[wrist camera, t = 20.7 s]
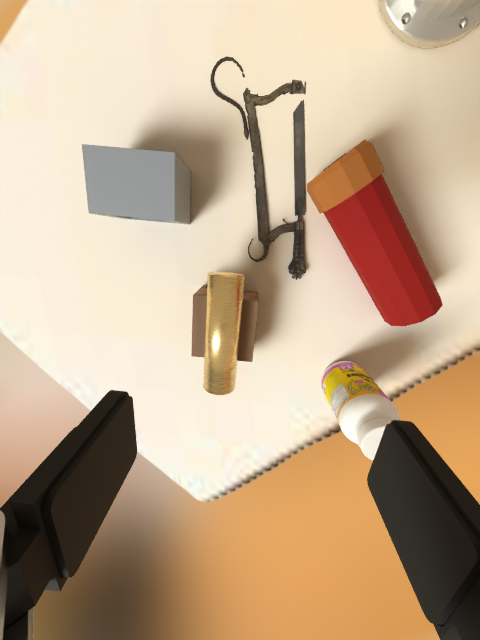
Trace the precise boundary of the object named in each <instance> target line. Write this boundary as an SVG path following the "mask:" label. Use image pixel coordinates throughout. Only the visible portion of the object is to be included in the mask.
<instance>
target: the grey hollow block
mask: <svg viewBox="0 0 480 640" xmlns="http://www.w3.org/2000/svg"><path fill="white" fill-rule="evenodd" d="M82 150H83V160H84V170H85V180H86V190H87V200H88V210H89V213H91V214H97V215H104V216H110V217H116V218H123V219H135V220H146V221H158V222H169V223H180V224H190V199H191V170H190V169H189V168H188V167H187V166H186V165H185V164H184V162H183V161H182V160H181V159H180V158H179V157H178V156H177V154H176V153H175V152H166V151H154V150H142V149H131V148H119V147H107V146H95V145H83V144H82Z"/></svg>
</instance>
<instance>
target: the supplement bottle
mask: <svg viewBox="0 0 480 640" xmlns="http://www.w3.org/2000/svg"><path fill="white" fill-rule="evenodd" d="M321 386H322V389H323V391H324V394H325V396H326V398H327V400H328V402H329V404H330V406H331V408H332V410H333V412H334V415H335V417H336V419H337V421H338V423H339V425H340V427H341V429H342V431H343V433H344V434H345V436H346V437H347V438H348V439H350V440H351V441H353V442H354V443H357V444H358V445H359V447H360V448H361V450H362V451H363V453H364V455H365V456H366V457H367V458H369V459H371V460H374V457H375V454H376V452H377V449H378V446H379V443H380V441H381V438H382V435H383V432H384V429H385V427H386V425H387V424H390V423H391V421H392V420H400V417H399V413H398V410H397V409H396V407H395V406H394V404H393V403H392V402H391V401H390V400H389V398H388V397H387V396H386V395H385V394H384V393H383V391H382V390H381V389H380V388H379V387H378V386H377V384H376V383H375V382H374V381H373V380H372V379H371V377H370V376H369V375H368V374H367V373H366V371H365V370H364V369H363V368H362V367H361V366H360V365H358V364H356V363H354V362H351V361H339V362H336V363H333V364H332V365H330V366H329V367H328V368H327V369H326V370H325V371H324V373H323V375H322V378H321Z"/></svg>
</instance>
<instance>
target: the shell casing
mask: <svg viewBox="0 0 480 640" xmlns="http://www.w3.org/2000/svg"><path fill="white" fill-rule="evenodd" d="M383 172H384V168H383V166H382V164H381V162H380V160H379V157H378V155H377V153H376V151H375V149H374V147H373V145H372V143H371V142H369V141H367V140H364V141H363V142H361V143H360V144H358V145H357V146H356V147H354V148H353V149H352V150H350V151H349V152H348V153H345V154H344V155H343V156H341V157H340V158H339V159H337V160H336V161H335V162H333V163H332V164H331V165H329V166H328V167H327V168H326V169H324V170H323V172H322V173H320V174H319V175H318V176H316V177H315V178H314V179H313V180H311V181H310V182H309V183H308V184H307V191H308V193H309V195H310V197H311V198H312V200H313V202H314V204H315V205H316V207H317V209H318V211H319V212H320V213H324V214H325V216H326V218H327V220H328V221H329V223H330V225H331V227H332V229H333V230H334V232H335V234H336V236H337V237H338V239H339V241H340V243H341V245H342V246H343V248H344V250H345V252H346V253H347V255H348V257H349V259H350V261H351V262H352V264H353V266H354V268H355V269H356V271H357V273H358V275H359V277H360V278H361V280H362V282H363V284H364V285H365V287H366V289H367V291H368V293H369V294H370V296H371V298H372V300H373V301H374V303H375V305H376V307H377V309H378V310H379V312H380V314H381V316H382V317H383V319H384V321H385V322H387V323H388V324H390V325H391V326H407V325H411V324H415V323H419V322H422V321H424V320H425V319H427V318H429V317H431V316H433V315H434V314H436V313H437V311H438V310H439V309H440V307H441V306H442V301H441V298H440V296H439V294H438V292H437V290H436V287H435V285H434V283H433V281H432V279H431V277H430V275H429V273H428V271H427V269H426V266H425V264H424V262H423V260H422V258H421V256H420V254H419V252H418V250H417V247H416V245H415V243H414V241H413V239H412V237H411V235H410V233H409V231H408V229H407V226H406V224H405V222H404V220H403V218H402V216H401V214H400V212H399V210H398V208H397V205H396V203H395V201H394V199H393V197H392V195H391V193H390V191H389V189H388V186H387V184H386V182H385V180H384V178H383V176H382V173H383Z"/></svg>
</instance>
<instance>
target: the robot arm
mask: <svg viewBox="0 0 480 640" xmlns="http://www.w3.org/2000/svg"><path fill="white" fill-rule="evenodd" d="M378 4H379V8H380V11H381V13H382V16H383V18H384V20H385V22H386V24H387V25H388V27H389V28H390V29H391V31H392V32H393V33H394V34H395V35H396V36H397V37H398V38H399V39H401V40H402V41H404V42H406V43H408V44H410V45H412V46H416V47H420V48H436V47H440V46H444V45H447V44H450V43H452V42H454V41H456V40H458V39H460V38H462V37H463V36H464V35H466V34H467V33H468V32H470V31H471V30H473V29H474V28H475V27H476V26H477V25H478V24H479V23H480V0H378ZM136 454H137V444H136V432H135V421H134V409H133V399H132V397H131V396H129V395H128V393H127V392H124V391H114V390H111V391H109V392H108V393H107V394H106V395H105V396H104V397H103V398H102V400H101V401H100V402H99V403H98V404H97V405H96V406H95V407H94V408H93V410H92V411H91V412H90V413H89V414H88V415H87V416H86V418H84V419H83V421H82V422H81V423H80V424H79V425H78V426H77V427H75V428H74V429H73V430H72V431H71V432H70V433H69V434H68V435H67V436H66V437H65V438H64V439H63V440H62V441H61V443H60V444H59V445H58V446H57V447H56V448H55V449H54V450H53V451H52V452H51V454H50V455H49V456H48V457H47V458H46V459H45V460H44V461H43V462H42V463H41V464H40V466H39V467H38V468H37V469H36V470H35V471H34V472H33V473H32V474H31V475H30V477H29V478H28V479H27V480H26V481H25V482H24V483H23V484H22V485H21V486H20V488H19V489H18V490H17V491H16V492H15V493H14V494H13V495H12V496H11V497H10V498H9V500H8V501H7V502H6V503H5V504H4V505H3V506H2V507H1V508H0V640H33V607H34V606H35V605H36V603H37V602H38V600H39V598H40V597H41V595H42V593H43V591H44V590H45V589H46V590H53V591H61V589H62V587H63V585H64V584H65V582H66V580H67V578H68V577H72V576H73V575H74V574H75V573H76V571H77V570H78V568H79V566H80V564H81V562H82V561H83V559H84V557H85V555H86V553H87V551H88V549H89V547H90V545H91V543H92V541H93V539H94V538H95V535H96V534H97V532H98V530H99V528H100V526H101V524H102V522H103V520H104V518H105V516H106V514H107V513H108V511H109V509H110V507H111V505H112V503H113V501H114V499H115V497H116V495H117V493H118V491H119V490H120V488H121V486H122V484H123V482H124V480H125V478H126V476H127V474H128V472H129V471H130V468H131V467H132V465H133V463H134V461H135V458H136ZM367 481H368V486H369V489H370V491H371V494H372V496H373V498H374V500H375V503H376V505H377V507H378V510H379V512H380V514H381V516H382V519H383V521H384V523H385V526H386V528H387V530H388V532H389V535H390V537H391V539H392V542H393V544H394V546H395V548H396V551H397V553H398V555H399V557H400V560H401V562H402V564H403V567H404V569H405V571H406V573H407V576H408V578H409V580H410V583H411V585H412V587H413V589H414V592H415V594H416V596H417V598H418V601H419V603H420V606H421V608H422V610H423V612H424V614H425V616H426V618H427V619H428V620H429V621H430V622H431V623H433V624H434V626H435V629H436V631H437V633H438V635H439V638H440V640H480V505H479V503H478V502H477V501H476V500H475V498H474V497H473V496H472V495H471V493H470V492H469V491H468V490H467V489H466V487H465V486H464V485H463V484H462V482H461V481H460V480H459V479H458V477H457V476H456V475H455V474H454V473H453V471H452V470H451V469H450V468H449V466H448V465H447V464H446V463H445V462H444V460H443V459H442V458H441V457H440V455H439V454H438V453H437V452H436V450H435V449H434V448H433V447H432V445H431V444H430V443H429V442H428V441H427V439H426V438H425V437H424V436H423V434H422V433H421V432H420V431H419V429H418V428H417V427H416V426H415V425H414V424H413V423H412V422H408V421H400V420H392V421H391V423H390V424H387V425H386V427H385V429H384V432H383V435H382V438H381V441H380V443H379V446H378V449H377V452H376V454H375V457H374V460H373V463H372V465H371V468H370V471H369V474H368V478H367Z"/></svg>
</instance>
